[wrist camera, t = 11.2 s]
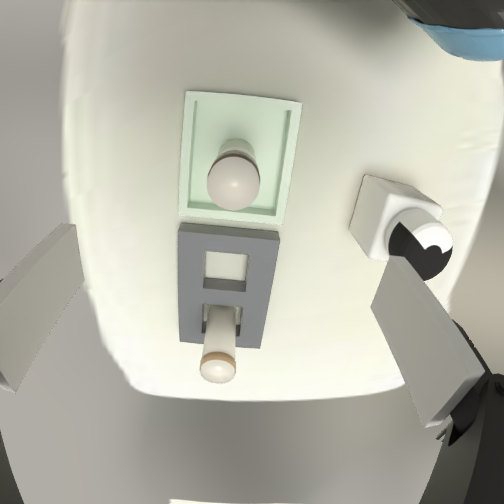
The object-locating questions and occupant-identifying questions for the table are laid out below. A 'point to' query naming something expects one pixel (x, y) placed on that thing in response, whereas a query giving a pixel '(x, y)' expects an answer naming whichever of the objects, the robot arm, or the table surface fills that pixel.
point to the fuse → (219, 345)
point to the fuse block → (225, 291)
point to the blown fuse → (234, 176)
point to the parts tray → (238, 127)
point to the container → (401, 226)
